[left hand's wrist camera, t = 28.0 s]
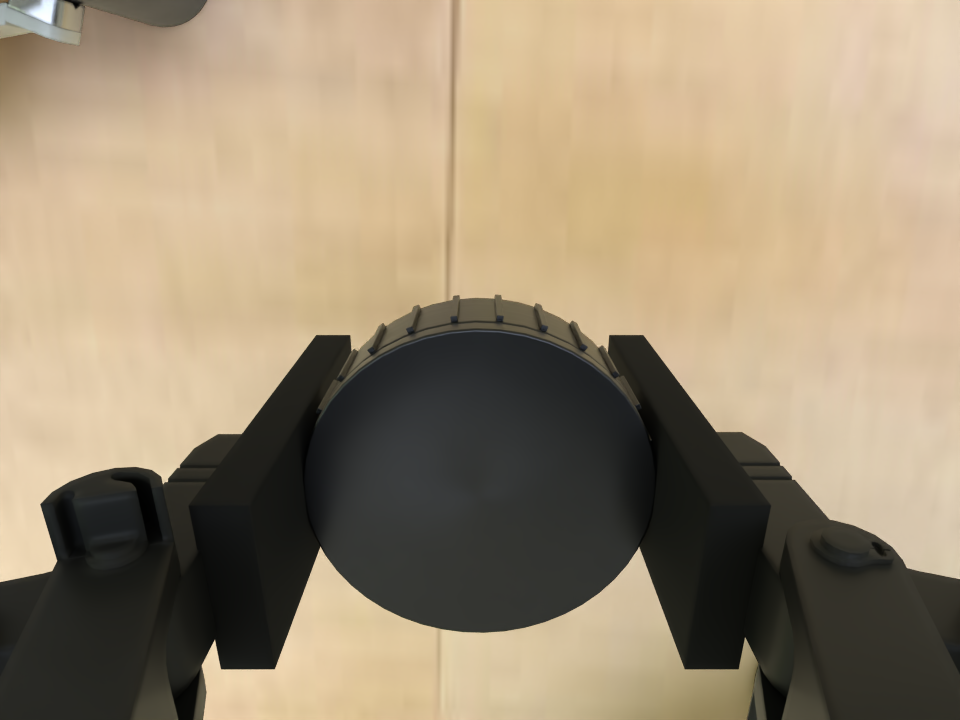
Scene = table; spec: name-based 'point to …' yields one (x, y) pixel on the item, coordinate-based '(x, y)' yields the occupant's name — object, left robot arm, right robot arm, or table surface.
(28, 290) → the table surface
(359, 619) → the table surface
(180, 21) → the dark grey cylinder
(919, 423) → the table surface
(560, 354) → the lid
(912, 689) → the left robot arm
